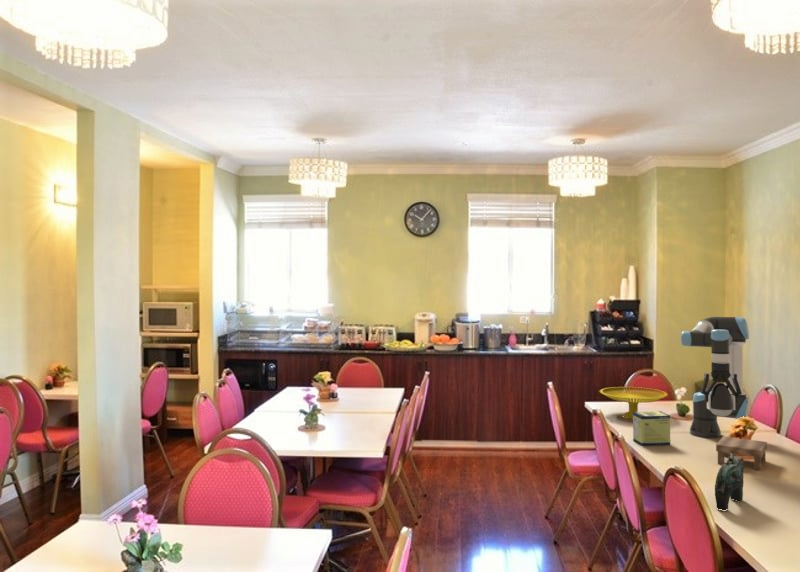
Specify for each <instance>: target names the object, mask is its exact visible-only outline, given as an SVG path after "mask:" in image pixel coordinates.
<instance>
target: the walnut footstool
mask: <svg viewBox="0 0 800 572" xmlns="http://www.w3.org/2000/svg"><path fill="white" fill-rule="evenodd" d="M767 443H768V442H767V441H762V440H754V439H748V438H747V439H746V438H741V439H739V437H732V436H726V435H725V436H723V435H722V437H721V438H720V439H719V440H718V441H717V443H716V444H715V452H717V464H718V465H721V466H722V465H723V464H724V463H726V462H725V461H726V460H725V458H727V457H730V456H731V454H732V452H733V453H735V454H736V455H741V456H747V457H753V464H754V465H753V466H754V467H753V470H754V471H758V472H759V471H760V472H761V471H762V463H766V461H767V460H766V451H767V448H768V444H767ZM729 451H732V452H731V453H730V455H728V453H729Z"/></svg>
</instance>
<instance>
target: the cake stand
mask: <svg viewBox="0 0 800 572" xmlns="http://www.w3.org/2000/svg"><path fill="white" fill-rule="evenodd" d="M598 392H599V393H600V394H602V395H604V396H605V397H607V398H609V399H611V400H614V401H618V402H625V403H627V404H628V411H627V412H624V413H622V414H621V417H622V416H624V417H623V418H625V417H628V418H627V419H631V418H633V412H639V410H638V407H639V406H638V405H639V403H642V404H643V403H644V404H645V403H653V402H657V401H659V400H661V399H664V398H666V397H668V396H669V393H668V392H666V391H662V390H659V389H654V388H648V387H647V388H646V387H637V386H617V387H616V386H613V387H604V388H602V389H600V390H598Z"/></svg>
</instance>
